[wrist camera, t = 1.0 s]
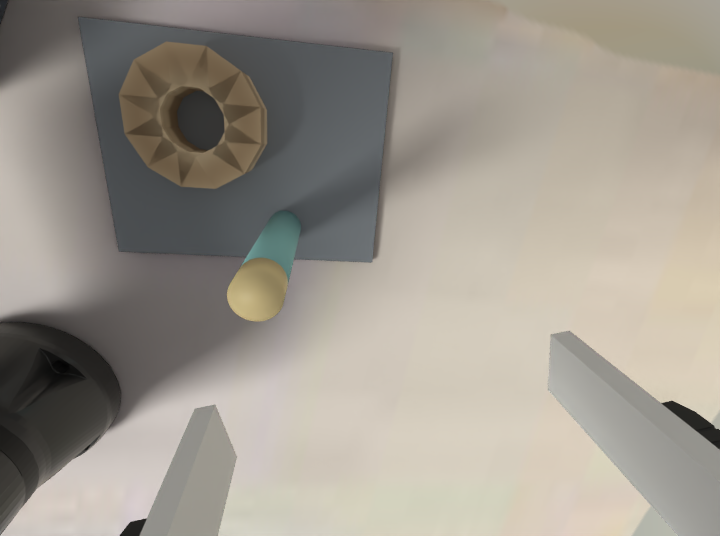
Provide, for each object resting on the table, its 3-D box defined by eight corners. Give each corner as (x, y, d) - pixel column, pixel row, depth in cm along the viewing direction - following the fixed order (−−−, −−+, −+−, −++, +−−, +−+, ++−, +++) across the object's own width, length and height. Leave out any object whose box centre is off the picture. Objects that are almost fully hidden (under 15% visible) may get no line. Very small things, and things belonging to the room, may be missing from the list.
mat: (122, 249, 31) (119, 251, 30) (83, 19, 25) (77, 16, 24) (371, 260, 33) (372, 262, 33) (391, 54, 27) (392, 52, 27)
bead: (151, 178, 28) (132, 183, 25) (133, 45, 25) (109, 35, 22) (268, 185, 29) (262, 191, 27) (266, 60, 26) (259, 51, 23)
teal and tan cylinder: (268, 240, 31) (228, 320, 18) (268, 209, 30) (225, 270, 17) (300, 242, 31) (284, 322, 18) (301, 211, 30) (284, 272, 17)
